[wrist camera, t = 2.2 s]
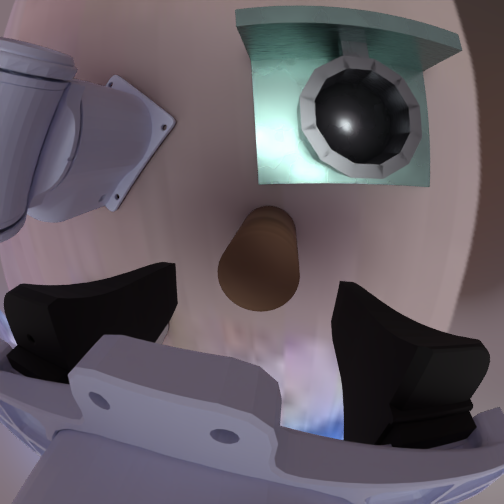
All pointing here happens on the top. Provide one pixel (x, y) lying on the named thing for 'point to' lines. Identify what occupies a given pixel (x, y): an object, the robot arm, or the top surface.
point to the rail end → (261, 261)
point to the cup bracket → (341, 93)
